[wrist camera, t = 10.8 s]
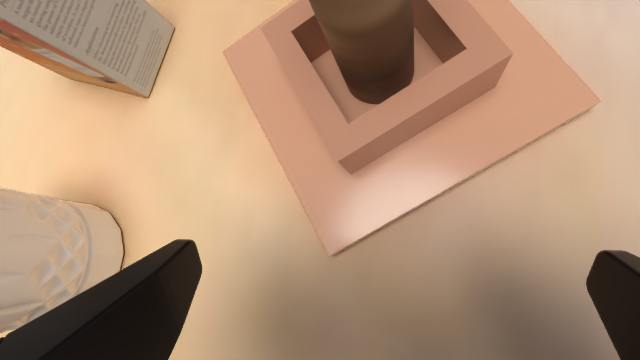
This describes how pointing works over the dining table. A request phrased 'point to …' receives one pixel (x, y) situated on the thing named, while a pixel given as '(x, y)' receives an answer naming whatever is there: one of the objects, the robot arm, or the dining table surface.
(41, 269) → the white cup
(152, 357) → the robot arm
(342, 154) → the pink square stand base
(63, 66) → the small box
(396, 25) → the thick brown pillar
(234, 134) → the dining table surface
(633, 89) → the dining table surface
